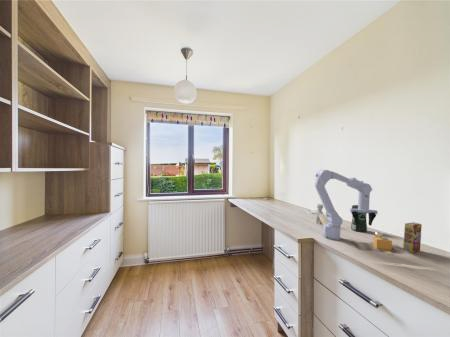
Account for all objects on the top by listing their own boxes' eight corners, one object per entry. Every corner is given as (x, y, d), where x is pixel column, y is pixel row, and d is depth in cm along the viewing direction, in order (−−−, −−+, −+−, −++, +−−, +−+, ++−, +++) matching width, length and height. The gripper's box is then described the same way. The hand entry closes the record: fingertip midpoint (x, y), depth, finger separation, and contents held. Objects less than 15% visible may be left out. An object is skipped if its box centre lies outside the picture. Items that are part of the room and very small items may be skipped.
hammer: (334, 220, 142) (322, 203, 171) (327, 220, 143) (316, 203, 172) (332, 241, 146) (320, 221, 175) (324, 240, 147) (314, 220, 175)
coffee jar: (361, 229, 159) (362, 204, 159) (368, 232, 151) (369, 206, 151) (348, 228, 159) (349, 204, 159) (355, 231, 151) (356, 205, 151)
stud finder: (376, 248, 116) (377, 239, 116) (373, 245, 119) (373, 236, 119) (391, 250, 114) (391, 240, 114) (387, 247, 118) (388, 238, 118)
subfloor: (360, 253, 111) (360, 251, 111) (348, 241, 129) (348, 239, 129) (405, 258, 106) (405, 256, 106) (386, 245, 124) (386, 243, 124)
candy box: (412, 253, 113) (413, 225, 113) (402, 250, 117) (403, 223, 117) (421, 251, 117) (422, 223, 117) (411, 248, 121) (412, 221, 121)
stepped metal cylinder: (376, 245, 120) (376, 233, 120) (373, 243, 124) (373, 231, 123) (382, 246, 119) (383, 233, 119) (380, 244, 123) (380, 232, 123)
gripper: (352, 202, 129) (352, 224, 129) (380, 204, 125) (379, 227, 125) (349, 200, 136) (348, 222, 136) (374, 202, 132) (374, 224, 132)
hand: (362, 224), depth 131 cm, fingers open, 7 cm apart
